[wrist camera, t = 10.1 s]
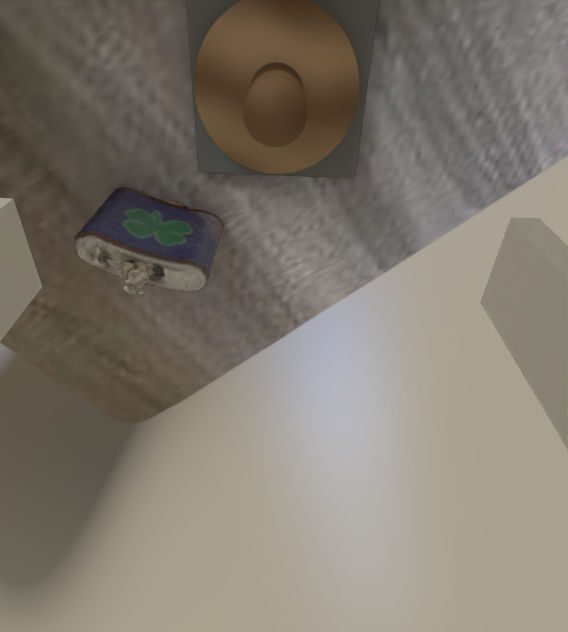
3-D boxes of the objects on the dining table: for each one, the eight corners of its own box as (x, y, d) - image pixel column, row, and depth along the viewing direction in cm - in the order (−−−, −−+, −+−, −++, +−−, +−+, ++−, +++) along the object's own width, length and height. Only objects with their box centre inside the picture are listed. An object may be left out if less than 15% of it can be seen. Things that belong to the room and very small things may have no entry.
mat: (187, -23, 29) (184, -23, 28) (377, -14, 29) (380, -14, 28) (200, 167, 36) (198, 171, 35) (353, 173, 36) (354, 178, 35)
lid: (190, -13, 28) (165, -10, 22) (368, -4, 29) (388, 1, 23) (202, 165, 35) (185, 203, 29) (346, 171, 35) (358, 210, 29)
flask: (225, 215, 38) (207, 285, 30) (217, 245, 40) (197, 319, 31) (114, 179, 37) (60, 242, 28) (109, 212, 38) (57, 280, 30)
